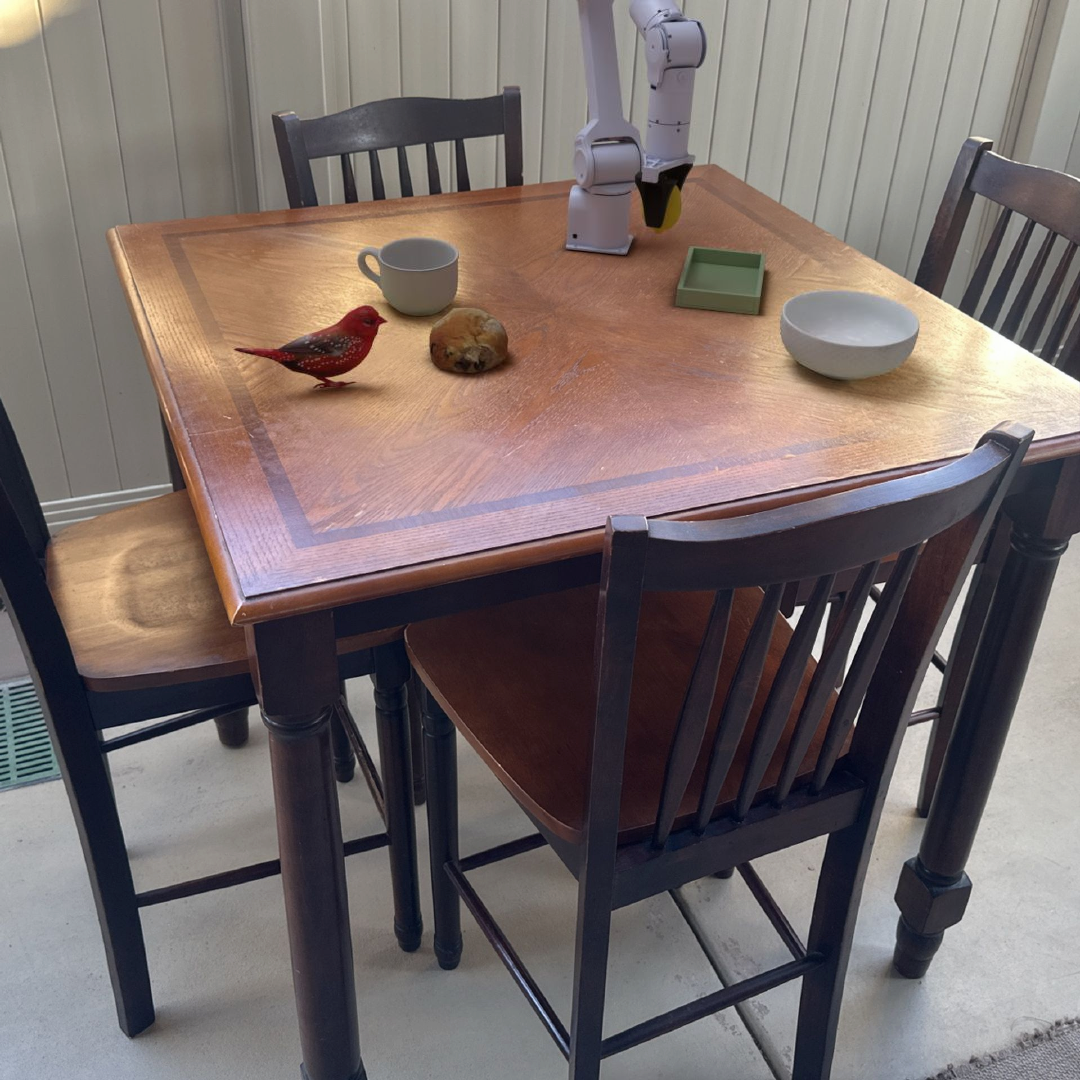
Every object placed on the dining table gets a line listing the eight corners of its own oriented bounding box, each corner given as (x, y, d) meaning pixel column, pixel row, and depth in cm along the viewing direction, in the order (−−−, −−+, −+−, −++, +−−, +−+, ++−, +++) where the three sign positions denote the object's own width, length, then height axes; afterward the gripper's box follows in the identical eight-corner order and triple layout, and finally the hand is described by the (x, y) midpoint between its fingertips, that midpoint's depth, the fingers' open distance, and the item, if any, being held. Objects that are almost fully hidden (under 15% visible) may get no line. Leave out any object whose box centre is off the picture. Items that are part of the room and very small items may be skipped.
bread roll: (513, 379, 145) (523, 317, 144) (487, 378, 135) (498, 311, 134) (442, 366, 148) (452, 305, 146) (411, 364, 138) (421, 298, 137)
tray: (675, 306, 157) (677, 288, 156) (688, 262, 171) (689, 245, 170) (757, 315, 156) (760, 297, 154) (763, 270, 170) (766, 253, 168)
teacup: (473, 301, 157) (473, 245, 152) (434, 329, 149) (433, 271, 144) (387, 282, 161) (384, 228, 157) (345, 309, 153) (340, 252, 149)
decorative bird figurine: (393, 387, 135) (389, 308, 129) (241, 403, 130) (230, 322, 125) (388, 376, 137) (384, 299, 131) (239, 392, 133) (228, 312, 127)
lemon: (680, 241, 157) (685, 183, 152) (640, 240, 157) (644, 182, 152) (676, 228, 161) (682, 171, 157) (638, 226, 161) (642, 170, 157)
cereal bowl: (765, 336, 150) (773, 285, 146) (891, 341, 150) (902, 291, 146) (784, 395, 136) (793, 340, 132) (922, 400, 136) (936, 346, 132)
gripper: (683, 136, 143) (672, 240, 151) (712, 111, 154) (701, 209, 162) (630, 129, 145) (622, 232, 153) (662, 104, 157) (654, 202, 164)
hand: (659, 220), depth 158 cm, fingers closed on lemon, 5 cm apart
